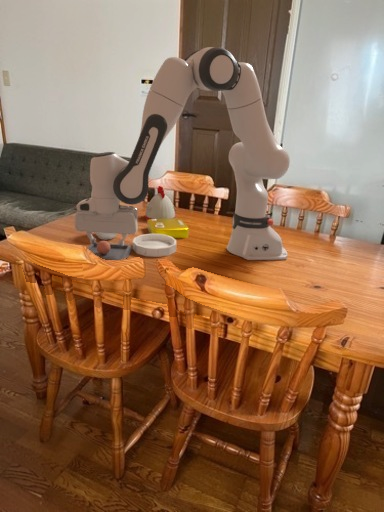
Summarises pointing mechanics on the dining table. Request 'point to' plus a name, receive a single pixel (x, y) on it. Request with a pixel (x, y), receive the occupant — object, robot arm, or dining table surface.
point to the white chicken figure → (160, 207)
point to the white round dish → (154, 245)
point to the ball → (103, 247)
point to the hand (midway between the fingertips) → (107, 244)
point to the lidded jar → (105, 235)
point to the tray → (112, 251)
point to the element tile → (168, 227)
